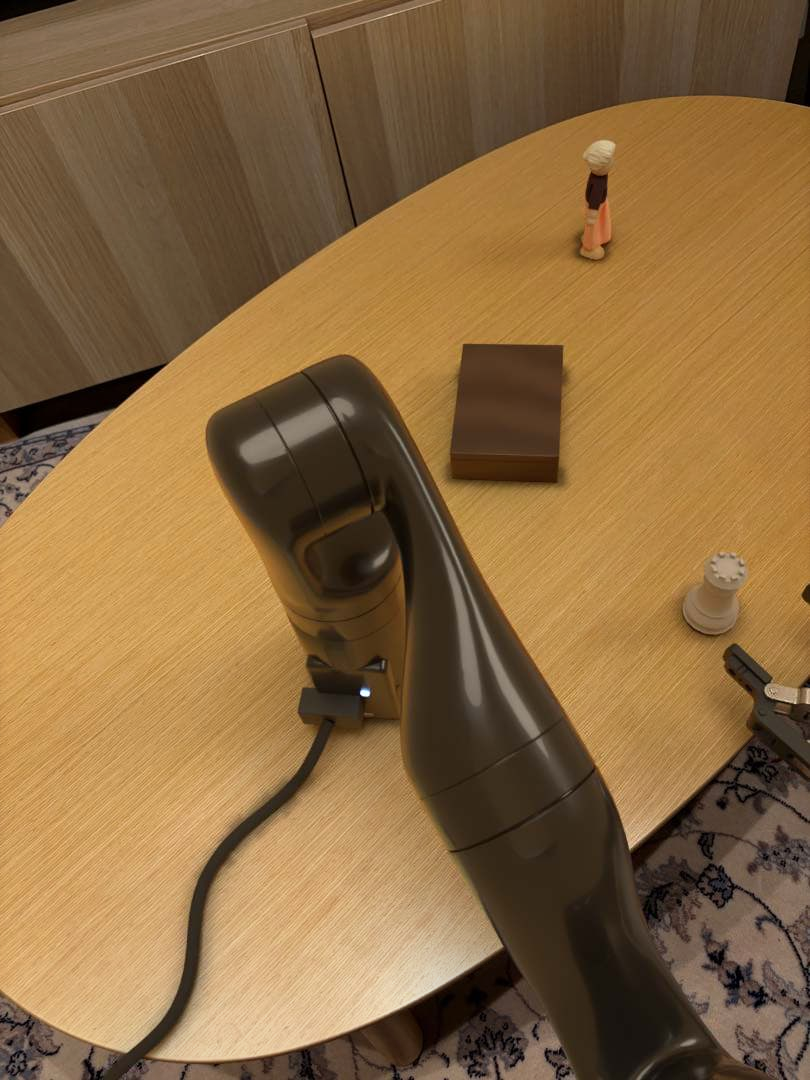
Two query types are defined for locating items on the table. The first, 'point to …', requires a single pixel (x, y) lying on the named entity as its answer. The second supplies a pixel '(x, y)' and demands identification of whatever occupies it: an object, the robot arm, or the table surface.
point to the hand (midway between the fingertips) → (768, 618)
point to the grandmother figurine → (597, 199)
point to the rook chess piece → (716, 594)
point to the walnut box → (508, 413)
